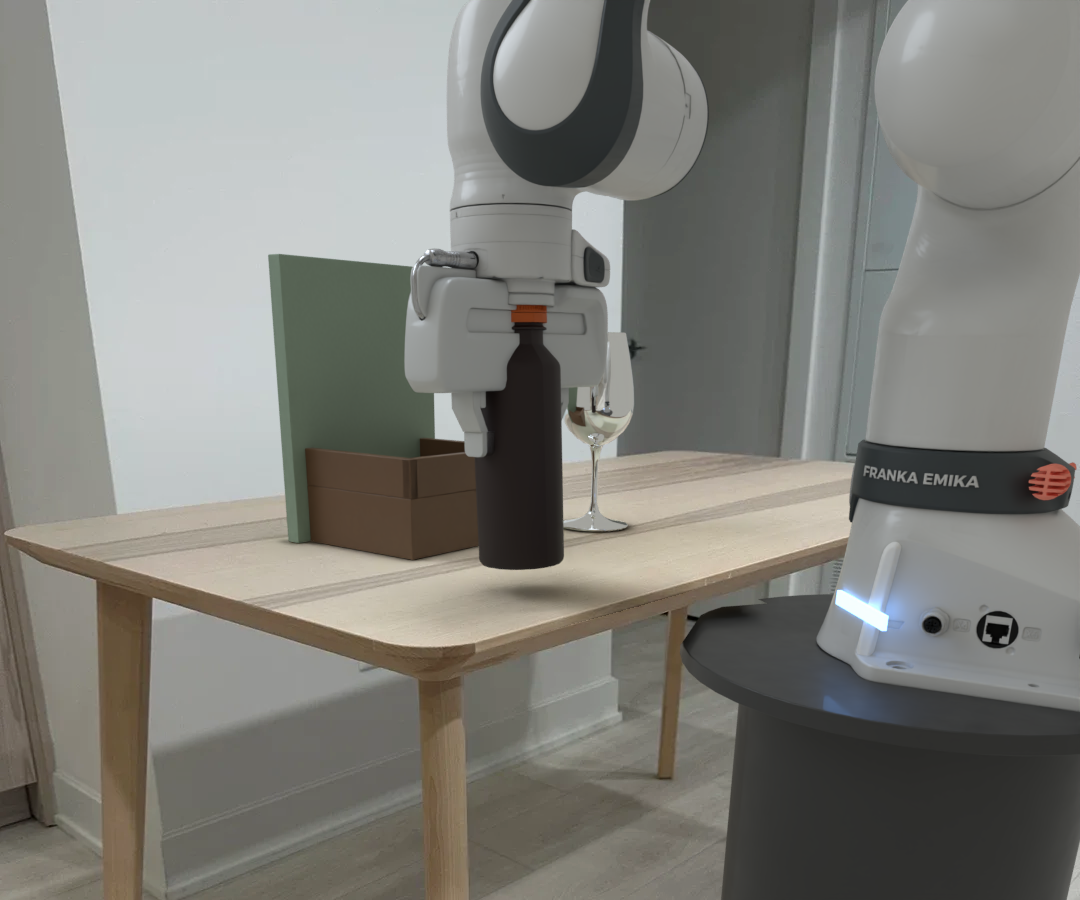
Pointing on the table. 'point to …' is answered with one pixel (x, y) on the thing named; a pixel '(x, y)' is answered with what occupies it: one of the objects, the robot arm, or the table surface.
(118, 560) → the table surface
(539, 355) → the vinegar
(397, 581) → the table surface
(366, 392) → the door shelf
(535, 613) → the table surface
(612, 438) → the wineglass
